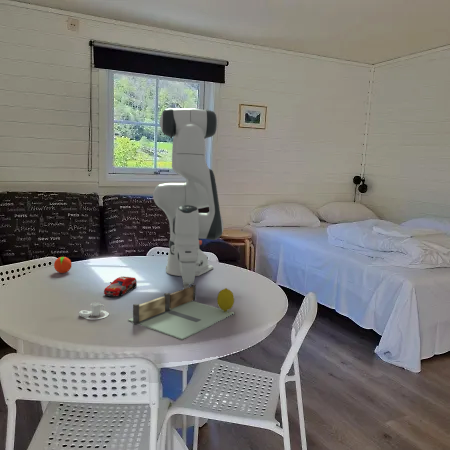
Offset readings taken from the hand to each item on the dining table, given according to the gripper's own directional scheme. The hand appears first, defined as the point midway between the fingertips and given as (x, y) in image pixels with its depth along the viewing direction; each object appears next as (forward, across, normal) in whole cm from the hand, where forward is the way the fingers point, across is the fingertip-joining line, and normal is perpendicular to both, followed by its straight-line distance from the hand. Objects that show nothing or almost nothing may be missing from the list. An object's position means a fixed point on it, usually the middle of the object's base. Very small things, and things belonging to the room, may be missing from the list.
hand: (186, 288), depth 157 cm
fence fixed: (+3, +19, -12) cm, 23 cm away
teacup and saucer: (+4, +13, -32) cm, 34 cm away
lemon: (+3, +17, +12) cm, 21 cm away
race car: (+4, -9, -24) cm, 26 cm away
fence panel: (+2, +9, -2) cm, 9 cm away
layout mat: (+3, +19, -2) cm, 20 cm away
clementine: (+3, -34, -49) cm, 60 cm away
